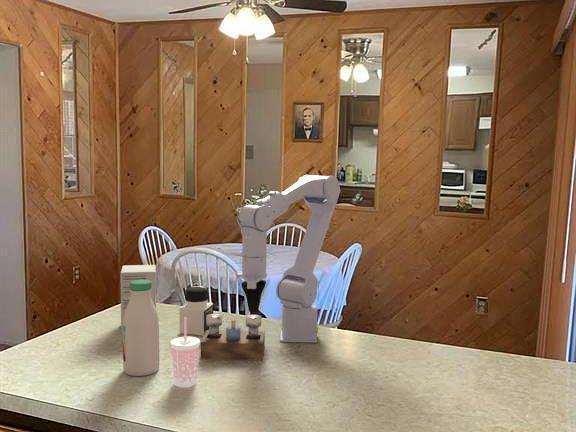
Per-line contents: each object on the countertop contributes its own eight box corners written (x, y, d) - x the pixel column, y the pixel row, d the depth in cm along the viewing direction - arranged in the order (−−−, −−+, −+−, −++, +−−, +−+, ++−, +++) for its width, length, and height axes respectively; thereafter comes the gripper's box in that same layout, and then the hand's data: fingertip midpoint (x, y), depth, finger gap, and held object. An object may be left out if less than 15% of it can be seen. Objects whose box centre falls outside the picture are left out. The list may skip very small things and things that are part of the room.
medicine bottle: (204, 335, 142) (204, 291, 140) (179, 333, 143) (178, 289, 142) (213, 327, 149) (213, 285, 147) (189, 325, 150) (189, 283, 149)
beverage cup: (206, 380, 113) (206, 316, 112) (187, 391, 108) (187, 323, 106) (183, 374, 116) (183, 311, 115) (164, 384, 111) (163, 319, 109)
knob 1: (223, 337, 131) (223, 314, 131) (220, 342, 128) (221, 318, 127) (207, 336, 132) (207, 313, 131) (204, 341, 128) (205, 318, 127)
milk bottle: (166, 367, 120) (166, 279, 118) (143, 379, 113) (142, 287, 111) (139, 361, 123) (138, 276, 121) (115, 373, 116) (114, 283, 114)
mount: (264, 346, 134) (264, 331, 134) (262, 360, 125) (262, 343, 125) (206, 345, 134) (206, 330, 134) (200, 358, 125) (200, 342, 125)
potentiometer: (241, 335, 130) (241, 318, 130) (239, 340, 127) (239, 322, 126) (227, 335, 130) (227, 317, 130) (225, 340, 127) (225, 322, 126)
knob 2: (261, 337, 131) (261, 314, 131) (260, 343, 128) (260, 319, 127) (246, 337, 131) (246, 314, 131) (244, 342, 128) (244, 319, 127)
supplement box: (122, 323, 151) (122, 265, 149) (156, 322, 153) (156, 264, 151) (120, 334, 141) (119, 272, 140) (156, 332, 144) (156, 271, 142)
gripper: (240, 250, 135) (240, 302, 136) (233, 261, 120) (233, 319, 122) (268, 250, 134) (267, 303, 136) (265, 261, 120) (264, 320, 121)
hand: (253, 311), depth 129 cm, fingers closed
